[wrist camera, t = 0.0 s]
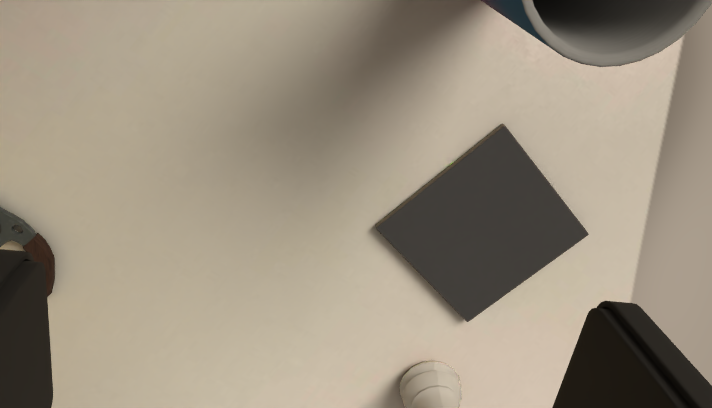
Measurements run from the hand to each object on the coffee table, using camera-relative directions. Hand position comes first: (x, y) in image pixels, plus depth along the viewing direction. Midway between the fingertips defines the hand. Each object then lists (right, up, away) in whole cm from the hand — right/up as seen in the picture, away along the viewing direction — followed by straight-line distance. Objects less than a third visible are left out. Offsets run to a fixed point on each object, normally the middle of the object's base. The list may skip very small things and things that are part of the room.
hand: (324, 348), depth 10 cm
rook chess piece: (+6, -10, +34) cm, 36 cm away
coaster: (+9, +1, +29) cm, 30 cm away
